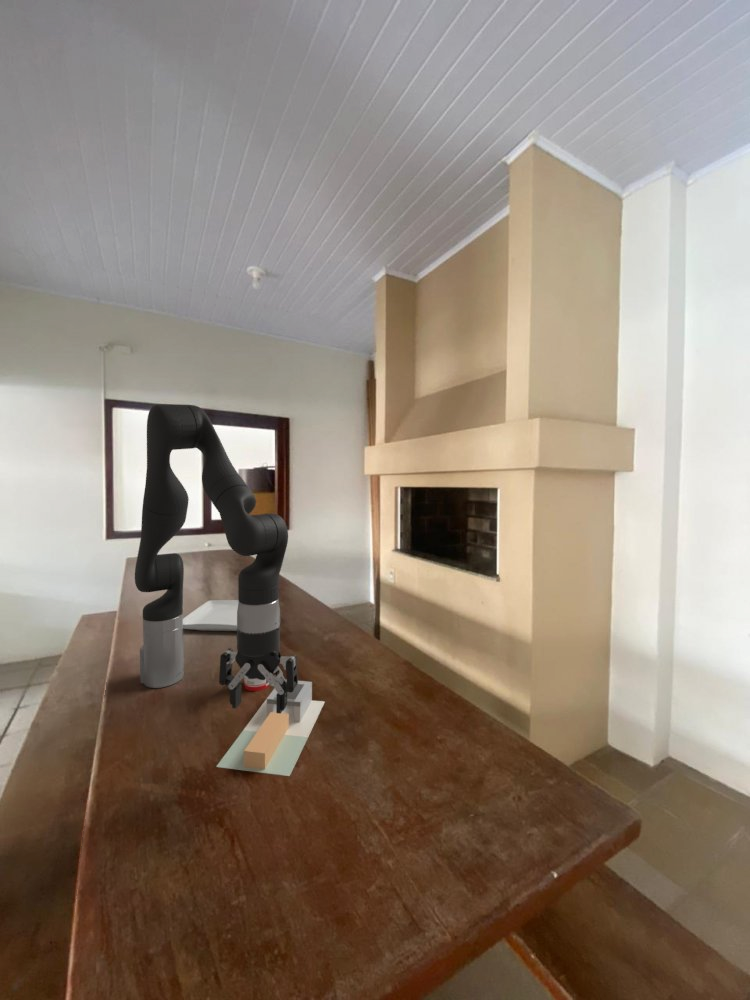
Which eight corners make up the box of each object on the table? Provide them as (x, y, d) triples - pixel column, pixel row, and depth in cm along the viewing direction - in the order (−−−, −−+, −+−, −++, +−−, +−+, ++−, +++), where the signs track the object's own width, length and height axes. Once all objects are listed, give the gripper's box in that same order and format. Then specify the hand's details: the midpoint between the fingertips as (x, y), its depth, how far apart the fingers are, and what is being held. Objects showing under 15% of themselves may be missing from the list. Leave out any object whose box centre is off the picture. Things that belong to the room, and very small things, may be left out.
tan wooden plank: (244, 766, 72) (244, 750, 72) (270, 725, 84) (270, 711, 83) (265, 769, 71) (264, 753, 71) (288, 727, 83) (288, 713, 83)
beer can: (262, 696, 96) (262, 632, 95) (239, 693, 98) (239, 630, 97) (274, 683, 102) (274, 623, 101) (252, 680, 104) (252, 621, 103)
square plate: (254, 636, 133) (254, 625, 133) (174, 634, 134) (173, 623, 133) (275, 609, 160) (275, 599, 160) (208, 608, 161) (208, 598, 160)
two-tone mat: (216, 771, 72) (215, 743, 71) (268, 700, 95) (268, 677, 94) (289, 781, 70) (289, 751, 69) (324, 705, 93) (325, 683, 92)
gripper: (211, 628, 69) (211, 716, 70) (288, 634, 67) (288, 725, 68) (232, 613, 76) (232, 693, 77) (302, 618, 74) (302, 700, 75)
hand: (258, 708), depth 73 cm, fingers open, 8 cm apart
